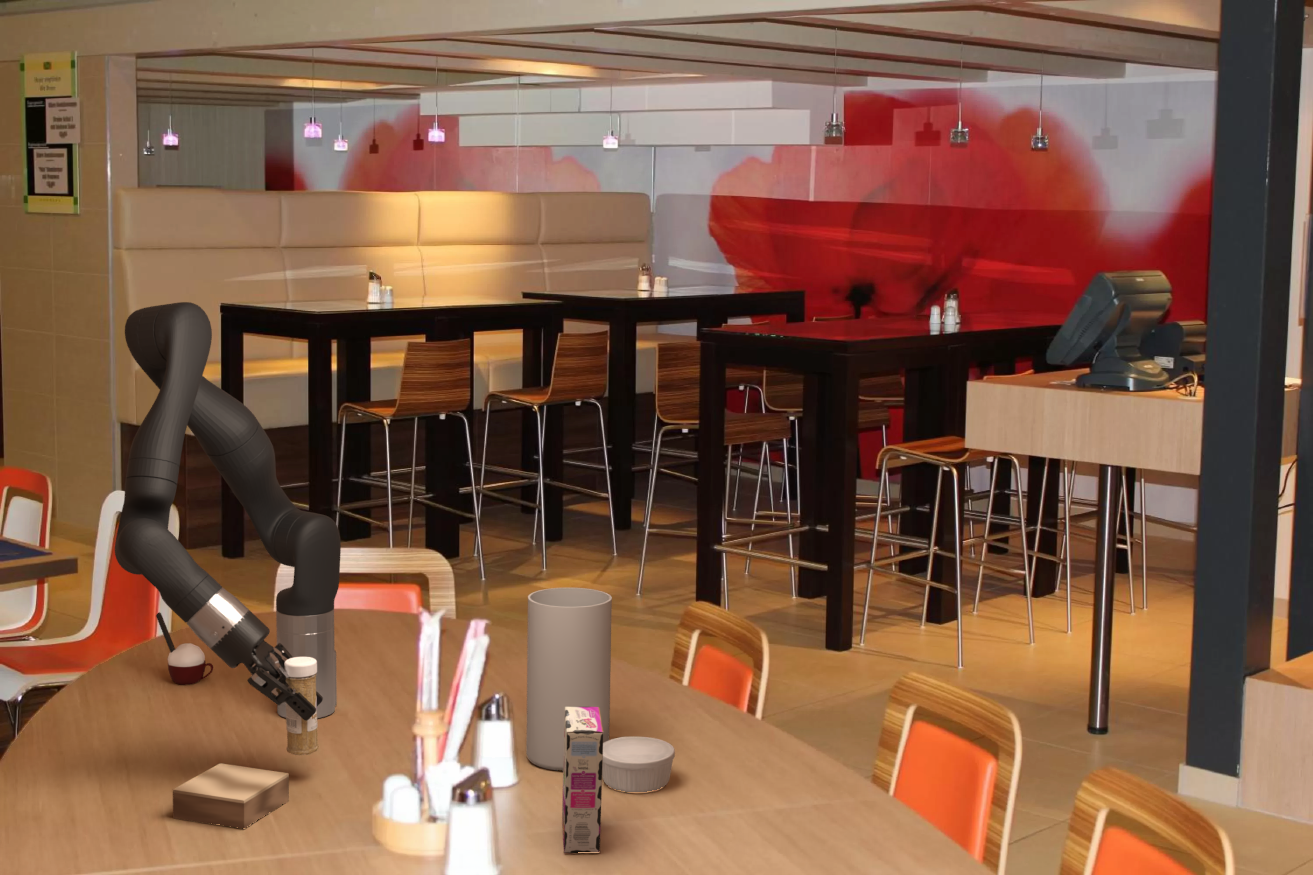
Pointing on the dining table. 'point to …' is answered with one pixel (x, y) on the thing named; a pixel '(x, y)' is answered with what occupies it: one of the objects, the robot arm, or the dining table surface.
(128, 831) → the dining table surface
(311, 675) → the spice jar
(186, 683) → the cocoa
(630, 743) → the ramekin
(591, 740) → the candy bar box
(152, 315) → the robot arm
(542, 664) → the cylinder vase
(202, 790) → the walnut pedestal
